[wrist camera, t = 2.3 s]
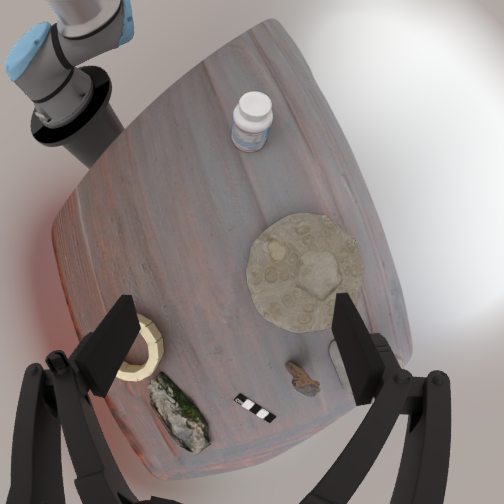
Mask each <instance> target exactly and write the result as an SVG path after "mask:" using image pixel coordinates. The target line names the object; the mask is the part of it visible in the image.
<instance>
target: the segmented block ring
mask: <svg viewBox="0 0 504 504" xmlns="http://www.w3.org/2000/svg"><path fill="white" fill-rule="evenodd" d="M137 316H138V319H139V323H140V326H141V330H140V331H139V332H140V333H141V334H142V336H143V338H144V339H145V341H146V342H147V344H148V350H149V359H148V361H147V362H146V363H145V364H143V365H130V364H128V363H127V362H125V361H123V363H122V365H121V367H120V369H119V371H118V373H117V375H116V377H118V378H119V379H123V380H127V381H140V380H142V379H144V378H146V377H148V376H150V375H151V374H152V373H153V372H154V370H155V369H156V367H157V366H158V364H159V362H160V360H161V358H162V356H163V353H164V348H163V337H161V336H162V335H161V333H160V332H159V330H158V329H157V327H156V326H155V324H154V323H152V321H151V320H149V319H148V318H146V317H144V316H143V315H141V314H138V313H137ZM151 323H152V324H151Z"/></svg>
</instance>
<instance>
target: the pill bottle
mask: <svg viewBox="0 0 504 504" xmlns="http://www.w3.org/2000/svg"><path fill="white" fill-rule="evenodd" d="M271 106H272V104H271V101H270V99H269V98H268V96H266V95H265V94H263V93H260V92H248V93H246V94H244V95H243V96H242V97H241V99H240V102H239V104H238V105H237V106H236V107H235V109H234V113H233V123H232V134H231V138H232V142H233V143H234V145H235V146H236V147H237V148H238V149H240V150H242V151H245V152H254V151H257V150H259V149H261V148H262V147H263V145H264V144H265V141H266V138H267V135H268V132H269V129H270V126H271V123H272V120H273V113H272V110H271Z"/></svg>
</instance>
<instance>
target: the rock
mask: <svg viewBox="0 0 504 504" xmlns="http://www.w3.org/2000/svg"><path fill="white" fill-rule="evenodd" d="M167 378H168V377H167V376H164V373H163V372H161V373H160V374H159V375H158V376H157V377H156V378H155V379H153V380H151V381H150V382H151V383H152V384H151V385H148V386H147V387H148V388H149V390H150V391H151V392H152V393H151V394H150V398H151V401H150V402H152V403H150V404H151V406H152V408H153V410H154V411H155V412H156V414H157V415H158V417H159V419H160V420H161V422H162V424H163V425H164V427H165V428H166V430H167V431H168V433H169V434H170V435H171V437H172V438H173V439H174V440H175V441H176V442H177V443H178V444H179V446H180V447H183V448H185V449H186V450H188V451H190V452H194V453H195V454H199V453H200V452H201V451H202V450H203V448H205V447H207V446H209V445H210V444H211V443H210V442H209V439H208V426H207V424H206V422H205V421H204V420H203V418H202V417H201V415H200V413H199V411H198V409H197V408H196V407H195V406H194V405H193V404H192V403H190V402H189V401H187V400H186V399H185V397H184V395H182V394H181V390H180V389H179V388H178V387H177V386H176V385H175V384H174V383H173V382H172V381H171V380H170V379H168V380H167Z"/></svg>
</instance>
